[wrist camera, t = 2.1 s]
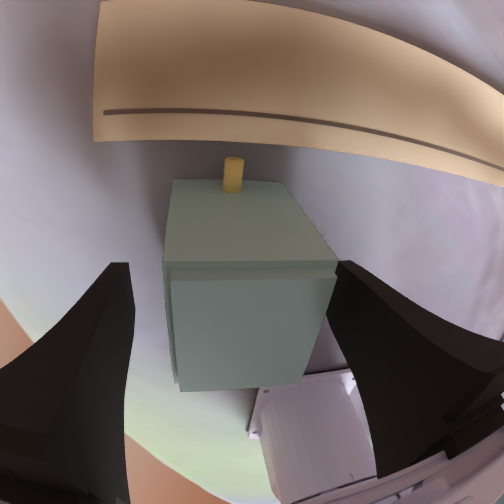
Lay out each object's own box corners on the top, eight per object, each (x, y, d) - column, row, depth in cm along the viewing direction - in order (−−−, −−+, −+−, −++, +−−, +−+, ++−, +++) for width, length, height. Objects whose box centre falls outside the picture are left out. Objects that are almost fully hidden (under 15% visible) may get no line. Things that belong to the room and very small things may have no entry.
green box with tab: (266, 277, 16) (304, 385, 10) (174, 278, 15) (174, 394, 9) (285, 155, 12) (358, 228, 7) (174, 150, 12) (158, 225, 6)
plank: (497, 180, 15) (516, 191, 14) (106, 132, 11) (92, 142, 9) (514, 110, 12) (535, 117, 11) (113, 11, 8) (100, 1, 6)
